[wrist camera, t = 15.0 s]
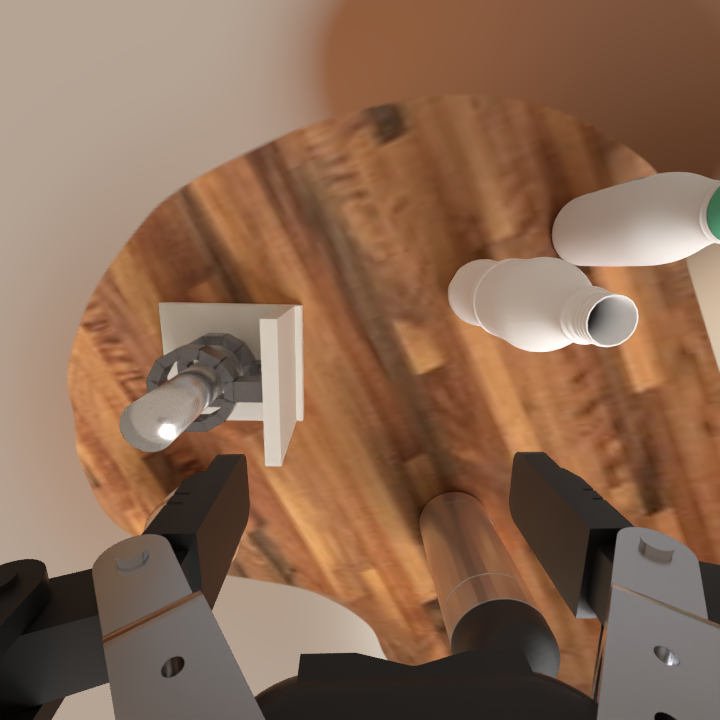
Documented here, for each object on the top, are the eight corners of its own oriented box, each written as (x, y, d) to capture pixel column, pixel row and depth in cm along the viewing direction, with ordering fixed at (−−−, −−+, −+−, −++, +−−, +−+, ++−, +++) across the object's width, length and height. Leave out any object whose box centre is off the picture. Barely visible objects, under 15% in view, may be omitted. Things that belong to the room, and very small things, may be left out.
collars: (283, 401, 45) (269, 432, 37) (188, 400, 45) (151, 431, 37) (282, 334, 43) (266, 350, 35) (182, 332, 43) (142, 348, 35)
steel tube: (241, 348, 45) (173, 401, 28) (243, 381, 46) (178, 452, 29) (206, 347, 45) (114, 400, 28) (208, 380, 46) (121, 451, 29)
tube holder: (304, 416, 49) (289, 466, 37) (175, 414, 49) (117, 465, 36) (302, 304, 46) (285, 319, 34) (164, 301, 45) (96, 315, 33)
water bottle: (455, 330, 47) (569, 402, 23) (433, 275, 45) (530, 288, 21) (511, 306, 46) (689, 352, 22) (491, 249, 45) (659, 231, 20)
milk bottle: (574, 279, 46) (739, 291, 26) (535, 228, 44) (680, 200, 25) (629, 233, 45) (844, 210, 25) (591, 179, 43) (789, 110, 24)
